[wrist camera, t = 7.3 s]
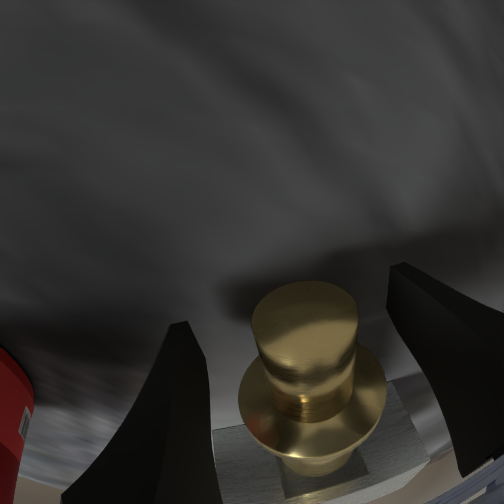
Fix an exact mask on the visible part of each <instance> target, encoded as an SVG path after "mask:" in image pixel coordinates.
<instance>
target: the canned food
mask: <svg viewBox="0 0 504 504" xmlns="http://www.w3.org/2000/svg"><path fill="white" fill-rule="evenodd" d="M33 410H34V391H33V387H32V385H31V383H30V381H29V379H28V377H27V376H26V375H25V373H24V372H23V370H22V369H21V368H20V366H19V365H18V364H17V363H16V362H15V360H14V359H13V358H12V357H11V356H10V355H9V354H8V353H7V352H6V351H5V350H3V349H2V348H1V347H0V504H13V500H14V493H15V487H16V481H17V476H18V471H19V466H20V461H21V457H22V452H23V448H24V444H25V440H26V436H27V432H28V428H29V424H30V421H31V417H32V414H33Z"/></svg>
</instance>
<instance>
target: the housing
mask: <svg viewBox="0 0 504 504" xmlns="http://www.w3.org/2000/svg"><path fill="white" fill-rule="evenodd" d="M386 384H387V396H386V401H385V406H384V409H383V412H382V415H381V417H380V420H379V422H378V424H377V425H376V427H375V429H374V430H373V432H372V433H371V434H370V435H369V437H368V438H367V439H366V440H365V441H363V442H362V443H361V444H360V445H359V446H357V447H356V448H355V449H353V452H352V454H351V456H350V458H349V459H348V461H347V462H346V463H345V464H344V465H343V466H342V467H341V468H339V469H338V470H336V471H334V472H332V473H330V474H327V475H324V476H317V477H311V476H305V475H301V474H298V473H296V472H294V471H293V470H291V469H290V468H289V467H288V466H287V465H286V464H285V463H284V461H283V460H282V458H281V457H278V456H276V455H274V454H272V453H270V452H269V451H267V450H266V449H264V448H263V447H262V446H261V445H259V444H258V443H257V442H256V440H255V439H254V438H253V437H252V435H251V434H250V432H249V431H248V429H247V427H246V425H241V426H236V427H231V428H225V429H219V430H213V431H212V437H213V447H214V456H215V465H216V473H217V478H218V483H219V488H220V493H221V497H222V501H223V504H364V503H366V502H369V501H372V500H374V499H377V498H379V497H382V496H384V495H387V494H389V493H392V492H394V491H396V490H398V489H401V488H402V487H403V486H405V485H406V484H407V483H408V482H409V481H410V480H411V479H412V478H413V477H414V476H415V475H416V474H417V473H418V472H419V471H420V470H421V469H422V468H423V467H424V466H425V465H426V464H427V463H428V462H429V461H430V458H429V455H428V453H427V451H426V449H425V447H424V445H423V443H422V441H421V439H420V437H419V435H418V432H417V430H416V428H415V426H414V424H413V422H412V420H411V418H410V416H409V414H408V412H407V410H406V408H405V406H404V405H403V403H402V401H401V399H400V397H399V395H398V393H397V391H396V389H395V387H394V385H393V383H392V381H390V382H387V383H386Z"/></svg>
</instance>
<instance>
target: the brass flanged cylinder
mask: <svg viewBox="0 0 504 504" xmlns="http://www.w3.org/2000/svg"><path fill="white" fill-rule="evenodd" d="M251 326H252V331H253V334H254V338H255V341H256V344H257V348H258V351H259V354H260V355H259V356H258V357H257V358H256V359H255V360H254V361H253V362H252V363H251V365H250V366H249V367H248V369H247V371H246V372H245V374H244V376H243V378H242V381H241V384H240V388H239V395H238V403H239V410H240V414H241V417H242V419H243V421H244V424H245V425H246V427H247V429H248V431H249V432H250V434H251V435H252V437H253V438H254V439H255V440H256V442H257V443H258V444H259V445H261V446H262V447H263V448H264V449H266V450H267V451H269V452H270V453H272V454H274V455H276V456H278V457H281V458H282V460H283V461H284V463H285V464H286V465H287V466H288V467H289V468H290V469H291V470H293V471H294V472H296V473H298V474H301V475H305V476H311V477H317V476H324V475H327V474H330V473H332V472H334V471H336V470H338V469H339V468H341V467H342V466H343V465H344V464H345V463H346V462H347V461H348V459H349V458H350V456H351V454H352V452H353V449H355V448H356V447H357V446H359V445H360V444H361V443H362V442H363V441H365V440H366V439H367V438H368V437H369V435H370V434H371V433H372V432H373V430H374V429H375V427H376V425H377V424H378V422H379V420H380V417H381V415H382V412H383V409H384V406H385V401H386V396H387V384H386V378H385V374H384V371H383V369H382V367H381V365H380V363H379V362H378V360H377V359H376V357H375V356H374V355H373V354H372V353H371V352H370V351H369V350H368V349H367V348H365V347H364V346H362V345H361V344H359V343H358V342H357V331H358V308H357V305H356V303H355V301H354V299H353V298H352V297H351V295H350V294H349V293H348V292H346V291H345V290H344V289H342V288H340V287H338V286H336V285H334V284H331V283H328V282H323V281H311V280H309V281H298V282H294V283H290V284H286V285H284V286H281V287H279V288H277V289H275V290H273V291H272V292H270V293H269V294H267V295H266V296H265V297H264V298H263V299H262V300H261V301H260V302H259V303H258V305H257V306H256V308H255V310H254V312H253V315H252V320H251Z"/></svg>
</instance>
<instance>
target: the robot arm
mask: <svg viewBox="0 0 504 504" xmlns="http://www.w3.org/2000/svg"><path fill="white" fill-rule="evenodd" d="M386 309H387V311H388V314H389V316H390V318H391V320H392V322H393V324H394V326H395V328H396V330H397V332H398V333H399V335H400V336H401V338H402V339H403V341H404V342H405V344H406V346H407V347H408V349H409V350H410V352H411V353H412V355H413V356H414V358H415V360H416V361H417V363H418V364H419V366H420V367H421V369H422V371H423V372H424V374H425V376H426V377H427V379H428V381H429V383H430V385H431V387H432V389H433V391H434V394H435V396H436V398H437V400H438V403H439V405H440V408H441V410H442V413H443V416H444V418H445V421H446V424H447V427H448V430H449V433H450V436H451V440H452V443H453V447H454V451H455V455H456V459H457V464H458V469H459V472H460V474H461V476H462V477H463V478H464V477H466V476H467V475H469V474H470V473H472V472H473V471H475V470H477V469H478V468H480V467H481V466H483V465H484V464H485V463H487V462H488V461H490V460H491V459H494V462H492V463H491V464H490V465H488V466H487V467H485V468H484V469H482V470H481V471H479V472H478V473H476V474H475V475H474V476H472V477H470V478H469V479H467V480H466V481H464V482H462V483H461V484H459V485H458V486H456V487H454V488H452V489H451V490H449V491H447V492H445V493H444V494H442V495H440V496H438V497H436V498H435V499H433V500H431V501H429V502H427V503H425V504H460V503H461V502H463V501H465V500H466V499H468V498H469V497H471V496H472V495H474V494H475V493H477V492H478V491H480V490H481V489H483V488H484V487H486V486H487V485H488V486H487V488H486V492H485V493H484V494H482V495H481V496H479V497H477V498H476V499H474V500H472V501H470V502H469V503H467V504H504V313H502V312H500V311H497V310H495V309H493V308H490V307H488V306H486V305H484V304H481V303H479V302H477V301H475V300H473V299H471V298H469V297H467V296H465V295H463V294H462V293H460V292H458V291H456V290H454V289H452V288H450V287H449V286H447V285H445V284H443V283H442V282H440V281H438V280H436V279H434V278H433V277H431V276H429V275H427V274H426V273H424V272H422V271H420V270H419V269H417V268H415V267H413V266H411V265H409V264H407V263H405V262H403V263H400V264H397V265H394V266H390V275H389V286H388V295H387V304H386ZM60 504H223V501H222V497H221V493H220V488H219V483H218V478H217V473H216V468H215V462H214V457H213V451H212V441H211V419H210V390H209V379H208V372H207V365H206V358H205V356H204V354H203V352H202V350H201V348H200V346H199V344H198V342H197V340H196V338H195V336H194V334H193V332H192V329H191V327H190V325H189V323H188V321H184V322H179V323H174V324H170V326H169V327H168V330H167V332H166V335H165V337H164V340H163V342H162V345H161V347H160V349H159V352H158V354H157V356H156V359H155V361H154V363H153V365H152V368H151V370H150V372H149V374H148V377H147V379H146V381H145V383H144V385H143V387H142V389H141V391H140V393H139V395H138V396H137V398H136V400H135V402H134V404H133V406H132V408H131V409H130V411H129V413H128V414H127V416H126V418H125V419H124V421H123V423H122V424H121V426H120V427H119V429H118V430H117V432H116V433H115V435H114V436H113V437H112V439H111V440H110V442H109V443H108V444H107V446H106V447H105V448H104V450H103V451H102V452H101V453H100V455H99V456H98V457H97V458H96V459H95V461H94V462H93V463H92V464H91V465H90V467H89V468H88V469H87V470H86V471H85V472H84V473H83V474H82V475H81V476H80V477H79V478H78V479H77V480H76V481H75V482H74V483H73V484H72V485H71V486H70V487H69V488H68V489H67V490H66V491H65V492H64V493H62V494H61V501H60Z"/></svg>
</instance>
